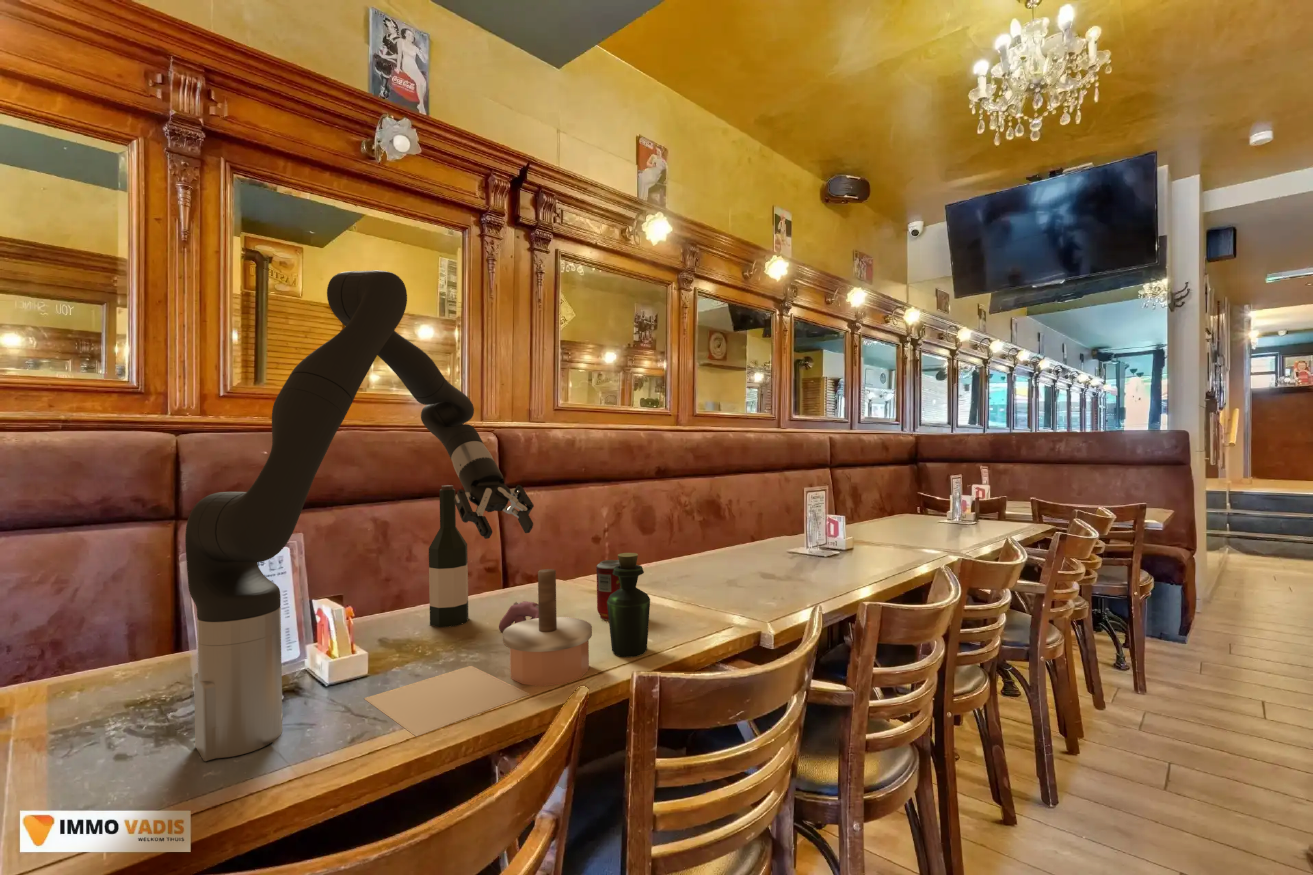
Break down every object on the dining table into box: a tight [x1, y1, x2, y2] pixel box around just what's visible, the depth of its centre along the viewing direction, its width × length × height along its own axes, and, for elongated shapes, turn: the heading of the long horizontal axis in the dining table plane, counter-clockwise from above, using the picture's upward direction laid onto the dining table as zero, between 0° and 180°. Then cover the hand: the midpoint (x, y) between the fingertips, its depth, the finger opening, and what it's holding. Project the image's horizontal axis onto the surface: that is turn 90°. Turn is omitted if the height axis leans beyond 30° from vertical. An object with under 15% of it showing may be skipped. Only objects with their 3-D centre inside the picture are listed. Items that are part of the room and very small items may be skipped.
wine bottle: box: [428, 484, 469, 628], centre depth 134 cm, size 8×8×30 cm
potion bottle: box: [607, 552, 651, 658], centre depth 113 cm, size 8×8×18 cm
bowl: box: [508, 639, 590, 687], centre depth 104 cm, size 13×13×6 cm
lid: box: [502, 568, 593, 652], centre depth 104 cm, size 15×15×11 cm
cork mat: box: [363, 665, 531, 738], centre depth 94 cm, size 18×18×1 cm
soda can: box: [595, 559, 621, 621], centre depth 136 cm, size 7×7×12 cm
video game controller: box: [498, 601, 539, 632], centre depth 127 cm, size 10×5×7 cm, turn 60°
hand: (509, 533), depth 112 cm, fingers open, 8 cm apart
